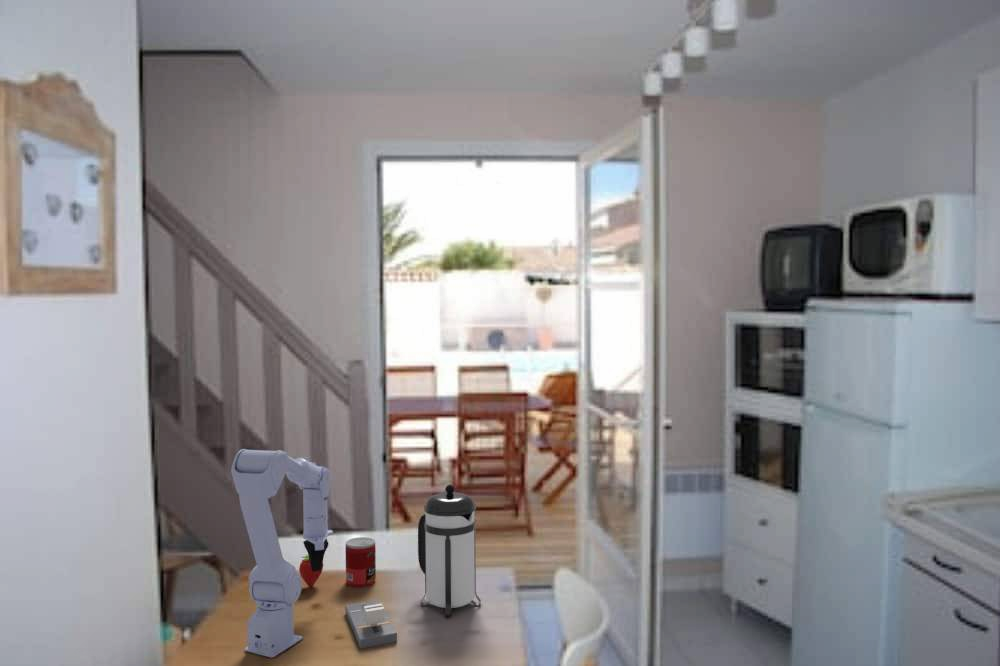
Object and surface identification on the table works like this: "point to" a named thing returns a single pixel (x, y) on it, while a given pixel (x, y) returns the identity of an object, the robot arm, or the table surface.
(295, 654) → the table surface
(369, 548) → the canned food
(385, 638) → the fader board
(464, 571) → the coffee press
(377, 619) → the fader knob
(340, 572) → the table surface
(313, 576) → the strawberry
